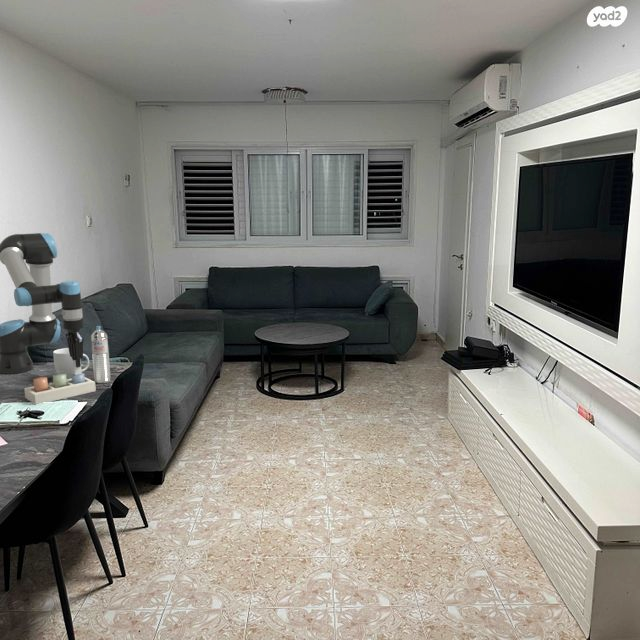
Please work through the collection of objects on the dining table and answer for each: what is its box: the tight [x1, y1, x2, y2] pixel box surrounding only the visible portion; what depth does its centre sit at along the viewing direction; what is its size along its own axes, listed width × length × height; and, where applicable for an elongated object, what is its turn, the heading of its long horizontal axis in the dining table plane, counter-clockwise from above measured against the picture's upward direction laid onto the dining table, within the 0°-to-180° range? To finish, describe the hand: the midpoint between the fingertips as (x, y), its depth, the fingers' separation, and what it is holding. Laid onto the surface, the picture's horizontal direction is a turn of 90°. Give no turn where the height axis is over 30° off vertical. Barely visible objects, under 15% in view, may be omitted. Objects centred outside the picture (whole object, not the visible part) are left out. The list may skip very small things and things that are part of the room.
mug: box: [52, 347, 90, 380], centre depth 260 cm, size 15×11×13 cm
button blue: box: [71, 372, 86, 384], centre depth 242 cm, size 5×5×5 cm
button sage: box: [52, 373, 67, 388], centre depth 237 cm, size 5×5×5 cm
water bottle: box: [90, 325, 111, 384], centre depth 253 cm, size 7×7×25 cm
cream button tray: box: [23, 376, 97, 405], centre depth 238 cm, size 12×24×4 cm, turn 135°
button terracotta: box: [32, 376, 48, 393], centre depth 232 cm, size 5×5×5 cm
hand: (78, 374), depth 242 cm, fingers closed
